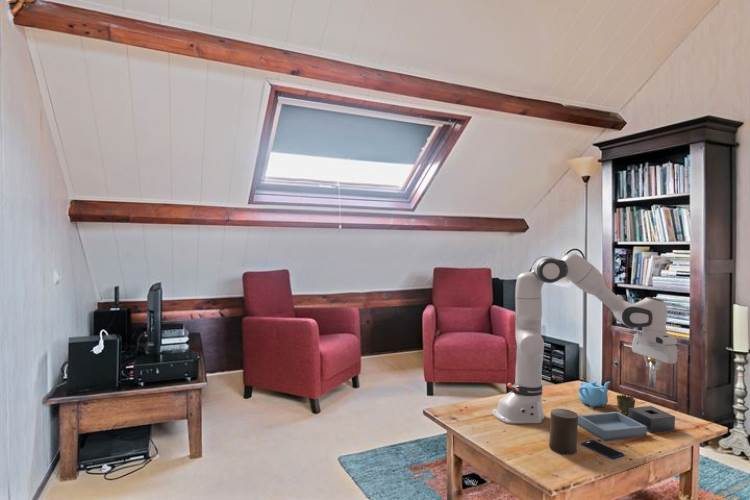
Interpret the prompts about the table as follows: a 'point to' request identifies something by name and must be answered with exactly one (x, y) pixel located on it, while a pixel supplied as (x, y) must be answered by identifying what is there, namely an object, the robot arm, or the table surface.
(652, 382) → the pin
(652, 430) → the block
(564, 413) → the pillar candle
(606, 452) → the cell phone
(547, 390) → the table surface
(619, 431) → the tray
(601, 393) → the teapot
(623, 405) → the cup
